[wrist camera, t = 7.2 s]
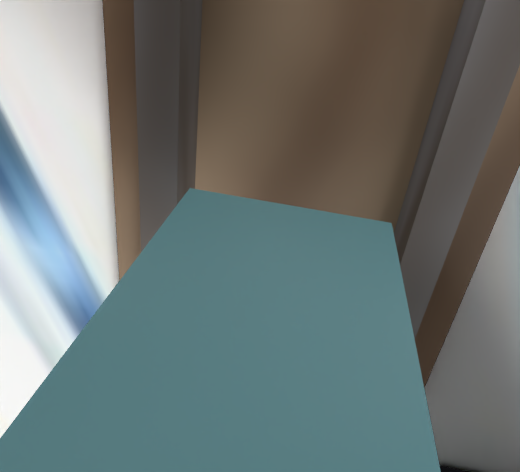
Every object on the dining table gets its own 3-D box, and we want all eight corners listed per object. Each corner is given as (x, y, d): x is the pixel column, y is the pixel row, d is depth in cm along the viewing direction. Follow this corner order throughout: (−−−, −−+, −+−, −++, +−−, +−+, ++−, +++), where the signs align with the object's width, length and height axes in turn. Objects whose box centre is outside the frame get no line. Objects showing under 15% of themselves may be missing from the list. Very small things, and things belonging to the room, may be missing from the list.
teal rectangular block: (391, 222, 9) (462, 581, 3) (318, 470, 13) (300, 807, 7) (189, 187, 9) (-21, 466, 4) (181, 440, 13) (73, 741, 8)
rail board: (571, 4, 12) (631, 10, 10) (408, 399, 20) (417, 460, 18) (114, -54, 13) (60, -62, 11) (132, 343, 21) (104, 393, 19)
